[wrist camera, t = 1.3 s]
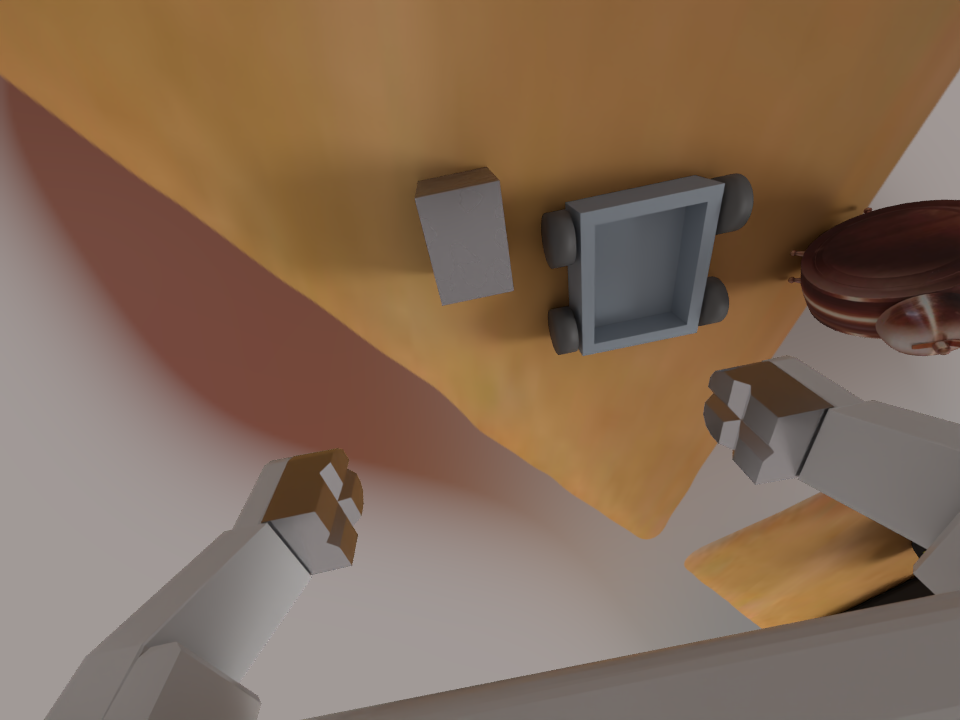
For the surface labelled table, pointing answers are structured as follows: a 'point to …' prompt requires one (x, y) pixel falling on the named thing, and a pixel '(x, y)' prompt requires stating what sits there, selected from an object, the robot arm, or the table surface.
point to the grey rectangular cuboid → (465, 234)
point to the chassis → (642, 261)
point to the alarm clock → (890, 276)
